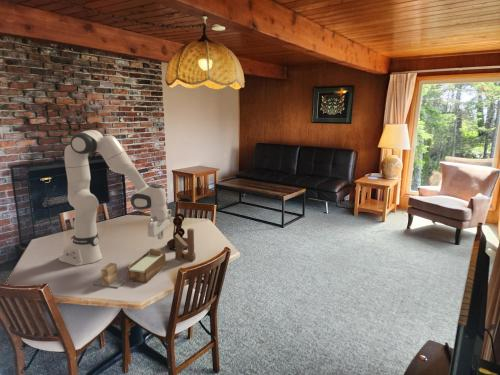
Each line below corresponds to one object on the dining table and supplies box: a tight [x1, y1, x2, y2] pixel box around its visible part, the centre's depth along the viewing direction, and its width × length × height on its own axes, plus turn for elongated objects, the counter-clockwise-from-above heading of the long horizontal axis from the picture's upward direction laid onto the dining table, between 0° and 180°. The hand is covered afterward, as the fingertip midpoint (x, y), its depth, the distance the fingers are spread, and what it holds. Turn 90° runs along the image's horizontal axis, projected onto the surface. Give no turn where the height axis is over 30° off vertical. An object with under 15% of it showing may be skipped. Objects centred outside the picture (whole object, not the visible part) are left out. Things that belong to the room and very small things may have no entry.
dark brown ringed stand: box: [166, 212, 188, 250], centre depth 211 cm, size 15×15×20 cm
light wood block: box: [100, 262, 119, 286], centre depth 167 cm, size 4×7×8 cm, turn 167°
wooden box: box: [127, 251, 167, 284], centre depth 178 cm, size 10×20×7 cm, turn 167°
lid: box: [129, 248, 164, 273], centre depth 177 cm, size 8×20×4 cm, turn 166°
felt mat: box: [93, 277, 127, 289], centre depth 168 cm, size 13×7×1 cm, turn 77°
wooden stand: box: [174, 228, 196, 262], centre depth 193 cm, size 4×11×18 cm, turn 78°
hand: (160, 238), depth 189 cm, fingers closed
